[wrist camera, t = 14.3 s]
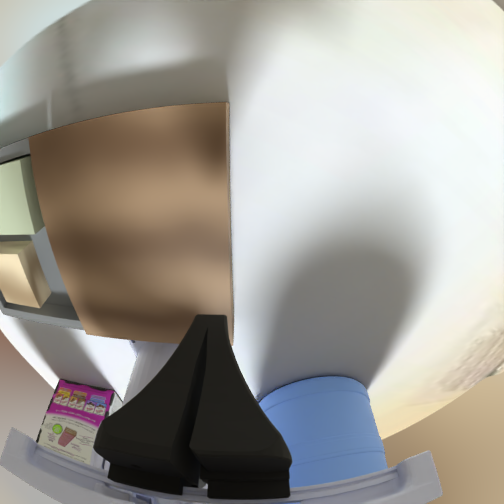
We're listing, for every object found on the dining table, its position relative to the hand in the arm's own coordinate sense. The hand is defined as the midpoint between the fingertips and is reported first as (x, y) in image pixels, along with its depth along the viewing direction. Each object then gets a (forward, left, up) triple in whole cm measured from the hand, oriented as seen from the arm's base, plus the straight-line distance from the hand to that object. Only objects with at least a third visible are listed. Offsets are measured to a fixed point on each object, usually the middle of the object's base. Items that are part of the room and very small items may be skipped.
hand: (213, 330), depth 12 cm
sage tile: (+5, +18, -9) cm, 21 cm away
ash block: (-3, +21, -6) cm, 22 cm away
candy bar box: (-27, +23, -10) cm, 36 cm away
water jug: (-26, -10, -10) cm, 29 cm away
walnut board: (0, +7, -9) cm, 12 cm away
